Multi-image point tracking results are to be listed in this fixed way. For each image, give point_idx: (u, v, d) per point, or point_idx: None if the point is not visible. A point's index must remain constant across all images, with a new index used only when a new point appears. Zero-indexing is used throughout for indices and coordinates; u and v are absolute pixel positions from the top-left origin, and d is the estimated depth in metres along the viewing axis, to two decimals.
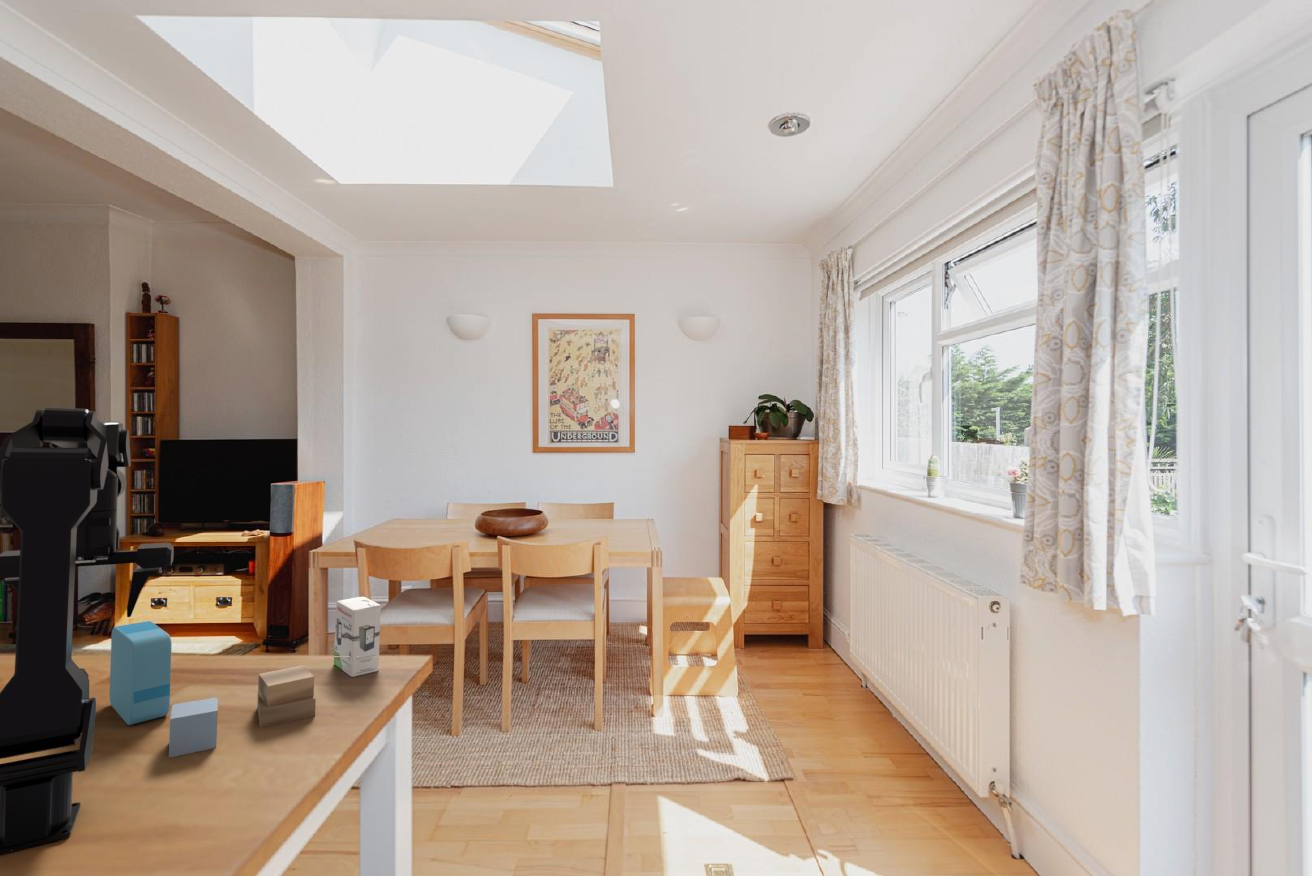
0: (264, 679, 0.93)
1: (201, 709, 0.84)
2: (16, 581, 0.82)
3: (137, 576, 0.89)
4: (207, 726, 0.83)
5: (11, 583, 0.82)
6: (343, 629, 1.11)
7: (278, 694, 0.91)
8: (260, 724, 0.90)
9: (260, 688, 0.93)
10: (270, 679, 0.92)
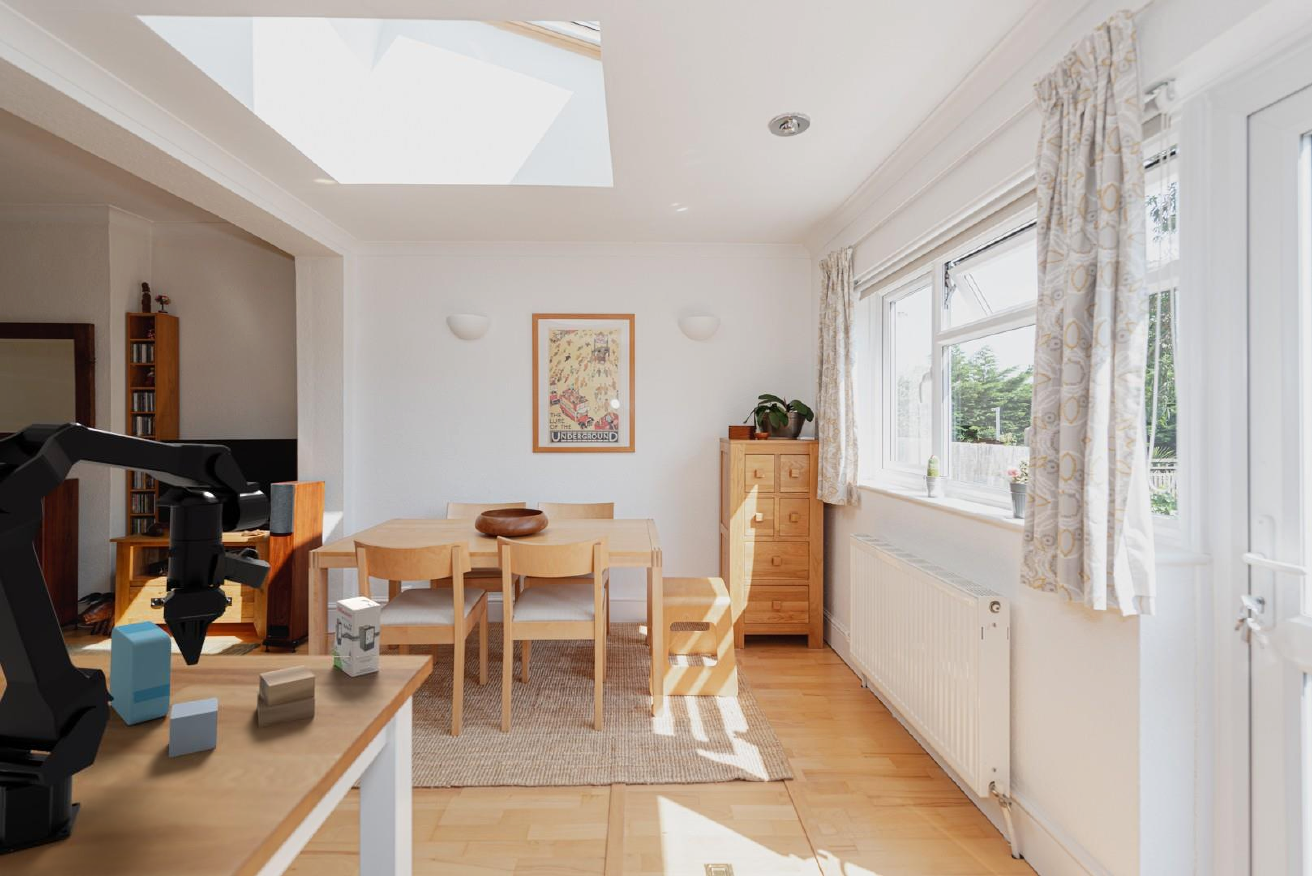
0: (265, 679, 0.93)
1: (201, 709, 0.84)
2: None
3: None
4: (207, 726, 0.83)
5: (167, 595, 0.88)
6: (343, 629, 1.11)
7: (279, 694, 0.91)
8: (259, 724, 0.90)
9: (261, 688, 0.94)
10: (271, 679, 0.93)
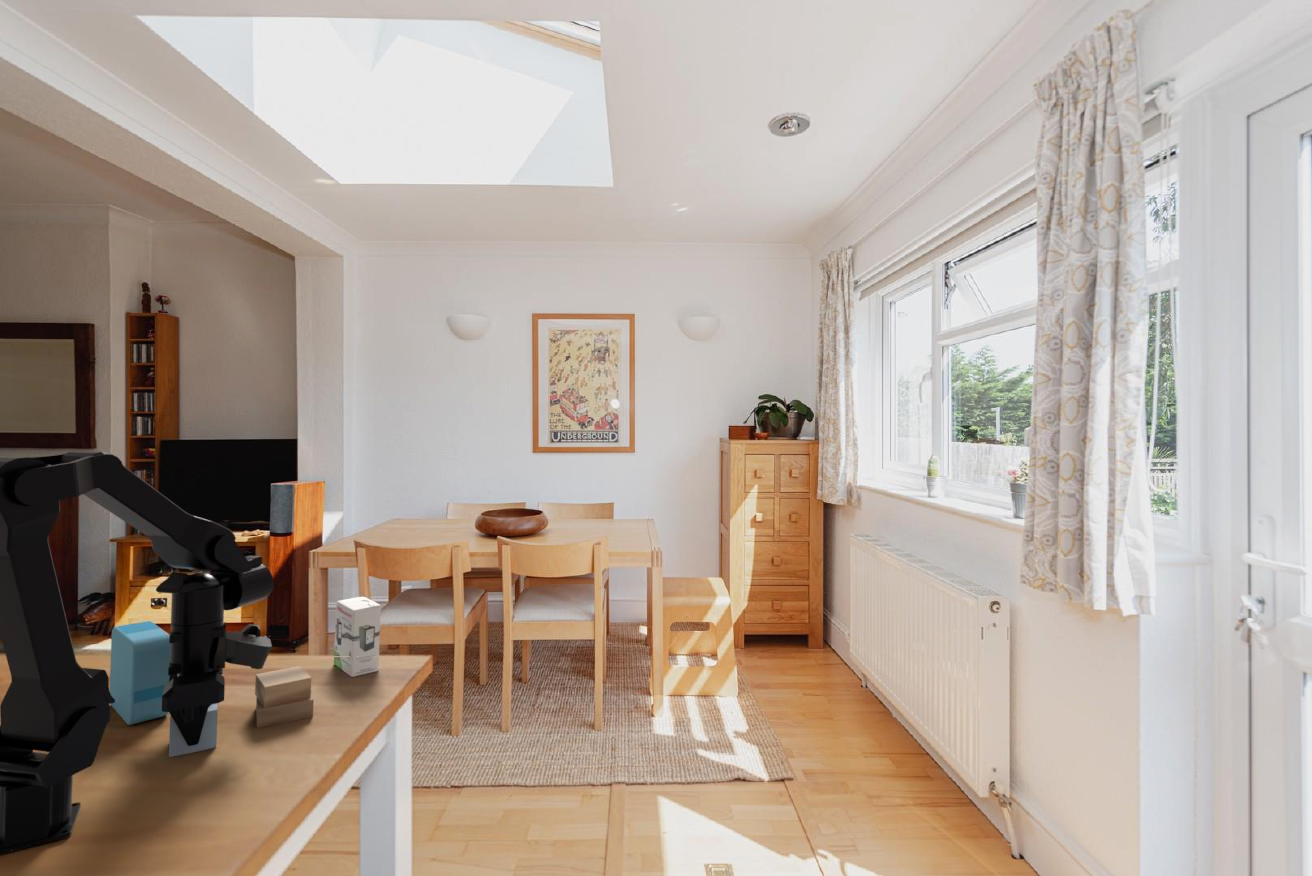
0: (261, 680, 0.92)
1: None
2: None
3: None
4: (207, 725, 0.83)
5: None
6: (343, 629, 1.11)
7: (275, 695, 0.91)
8: (258, 725, 0.90)
9: (257, 688, 0.93)
10: (267, 680, 0.92)
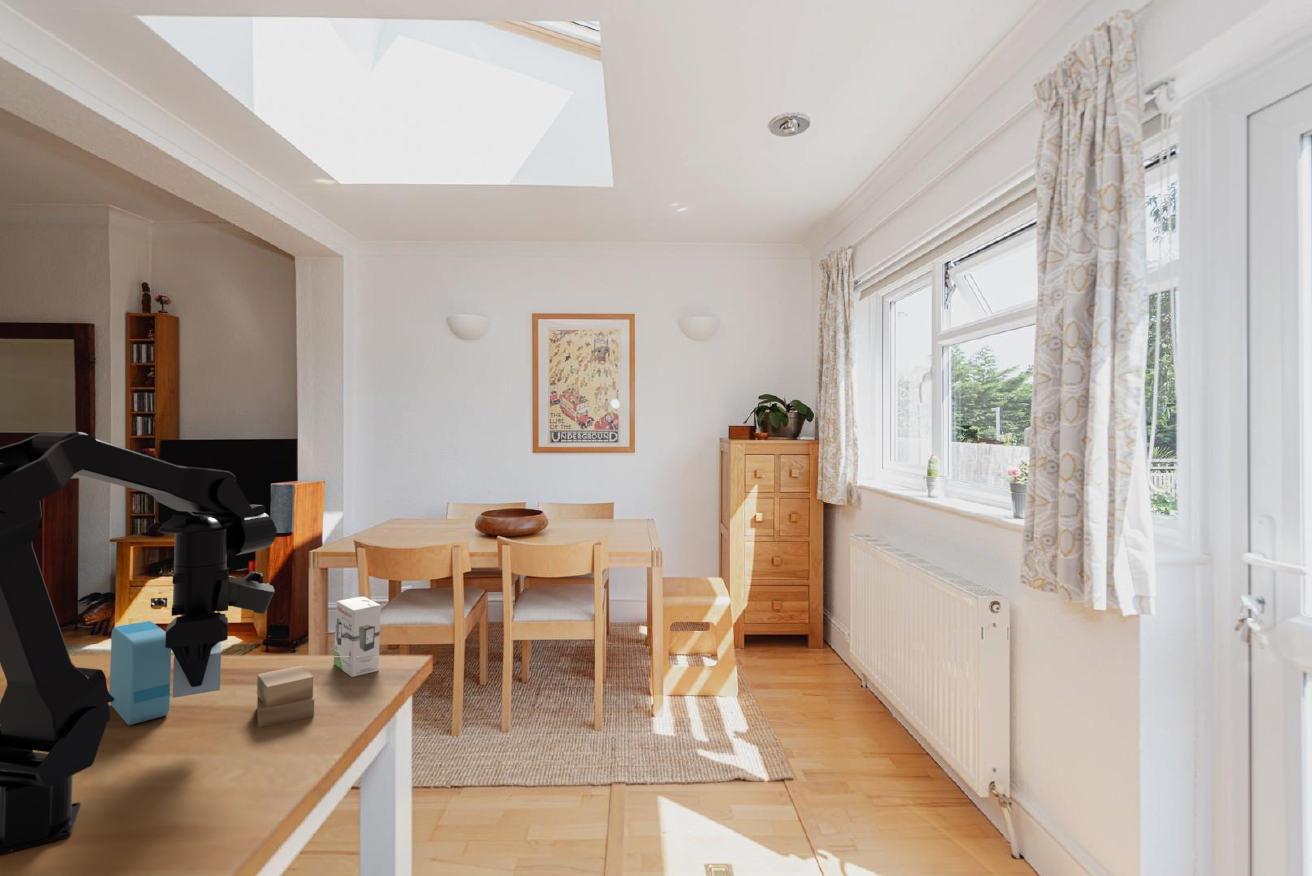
0: (263, 680, 0.92)
1: None
2: None
3: None
4: (211, 667, 0.83)
5: None
6: (343, 629, 1.11)
7: (277, 695, 0.91)
8: (258, 725, 0.90)
9: (259, 688, 0.93)
10: (269, 680, 0.92)
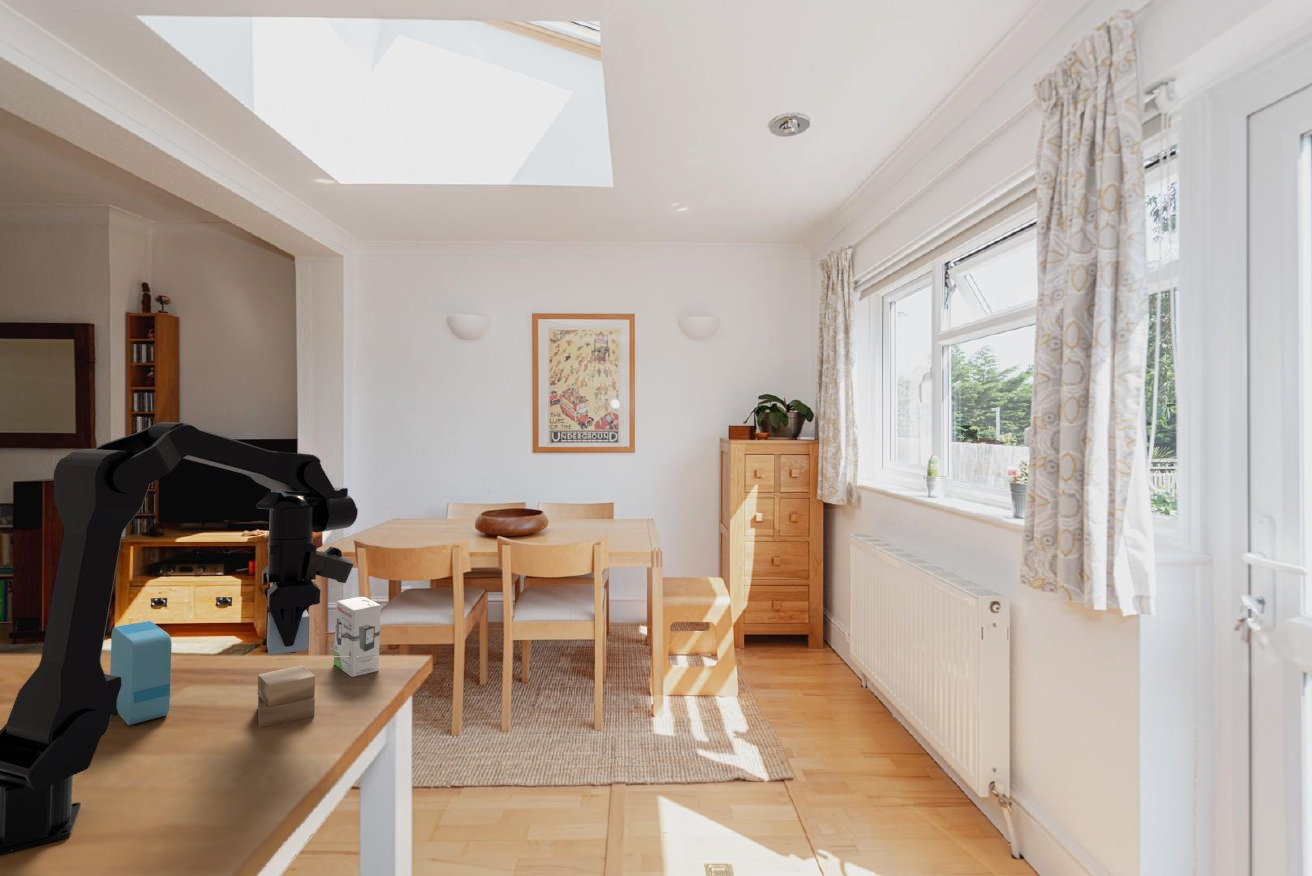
0: (264, 679, 0.92)
1: None
2: None
3: None
4: (300, 629, 0.93)
5: None
6: (343, 629, 1.11)
7: (280, 694, 0.91)
8: (259, 724, 0.90)
9: (260, 688, 0.93)
10: (270, 680, 0.92)
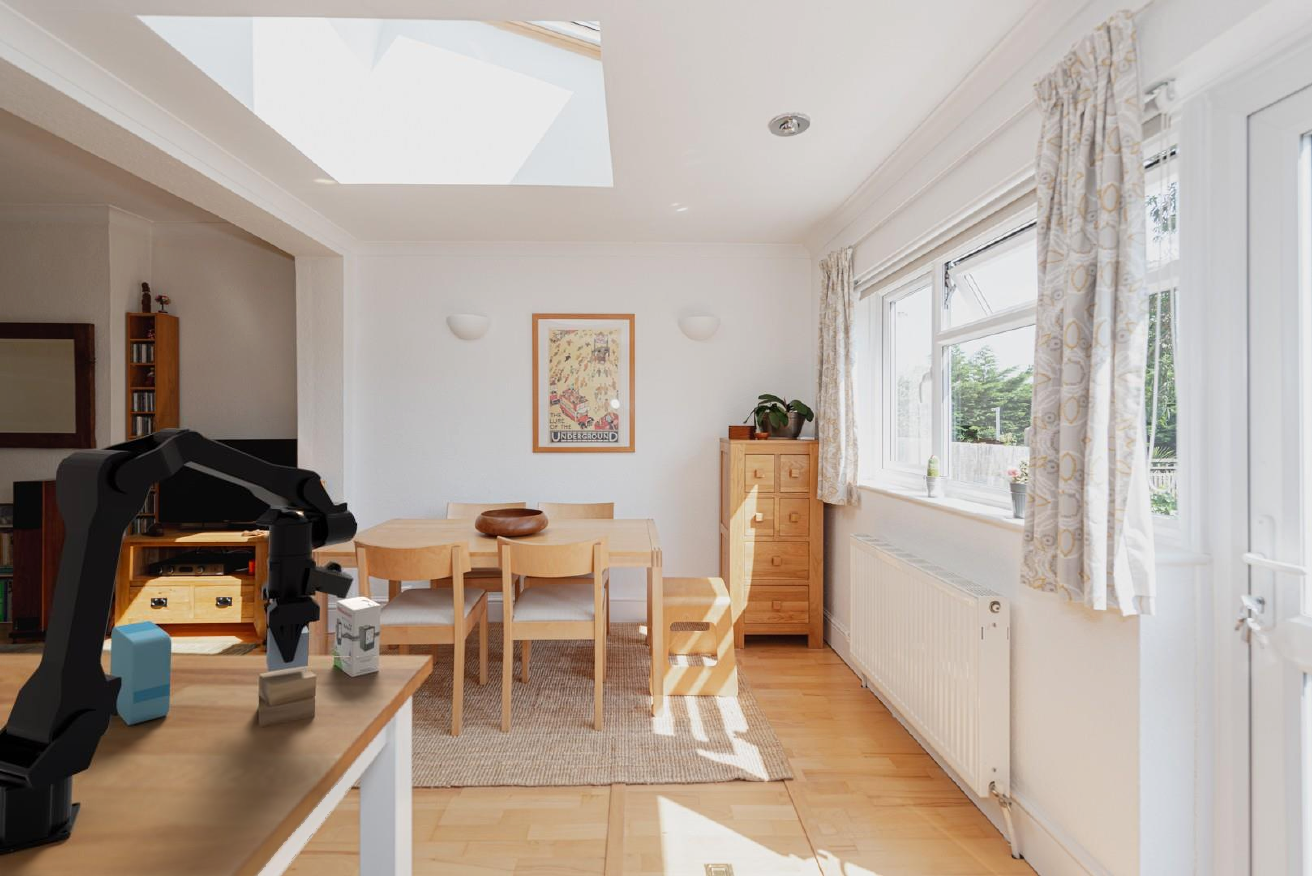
0: (266, 679, 0.93)
1: None
2: None
3: None
4: (300, 645, 0.93)
5: None
6: (343, 629, 1.11)
7: (281, 694, 0.91)
8: (260, 724, 0.90)
9: (261, 688, 0.93)
10: (272, 679, 0.92)
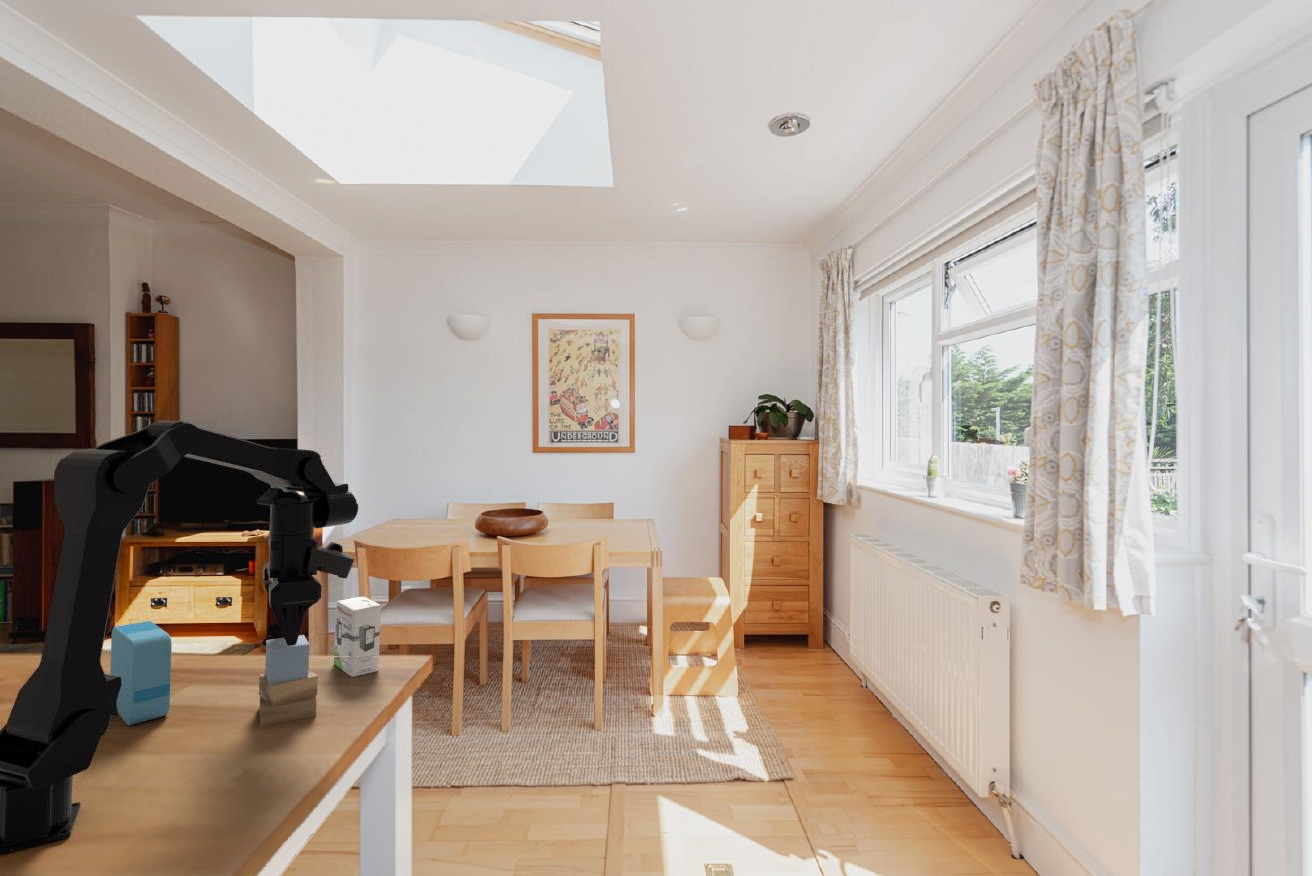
0: (267, 680, 0.92)
1: None
2: (264, 583, 0.98)
3: None
4: (301, 657, 0.93)
5: None
6: (343, 629, 1.11)
7: (283, 694, 0.91)
8: (261, 725, 0.90)
9: (262, 689, 0.93)
10: None
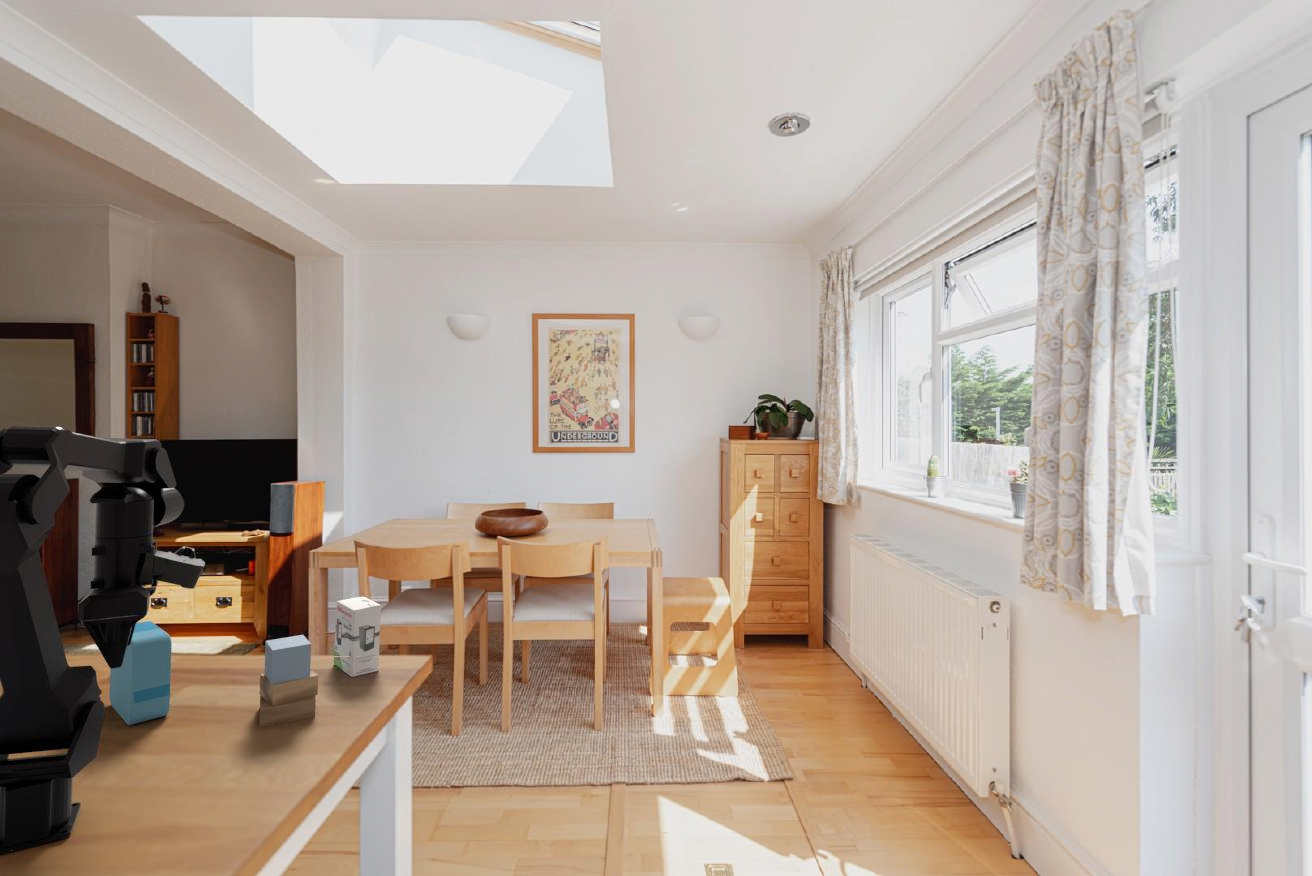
0: (267, 679, 0.93)
1: (296, 643, 0.94)
2: None
3: None
4: (302, 657, 0.93)
5: None
6: (343, 629, 1.11)
7: (283, 694, 0.91)
8: (260, 724, 0.90)
9: (262, 688, 0.93)
10: None
